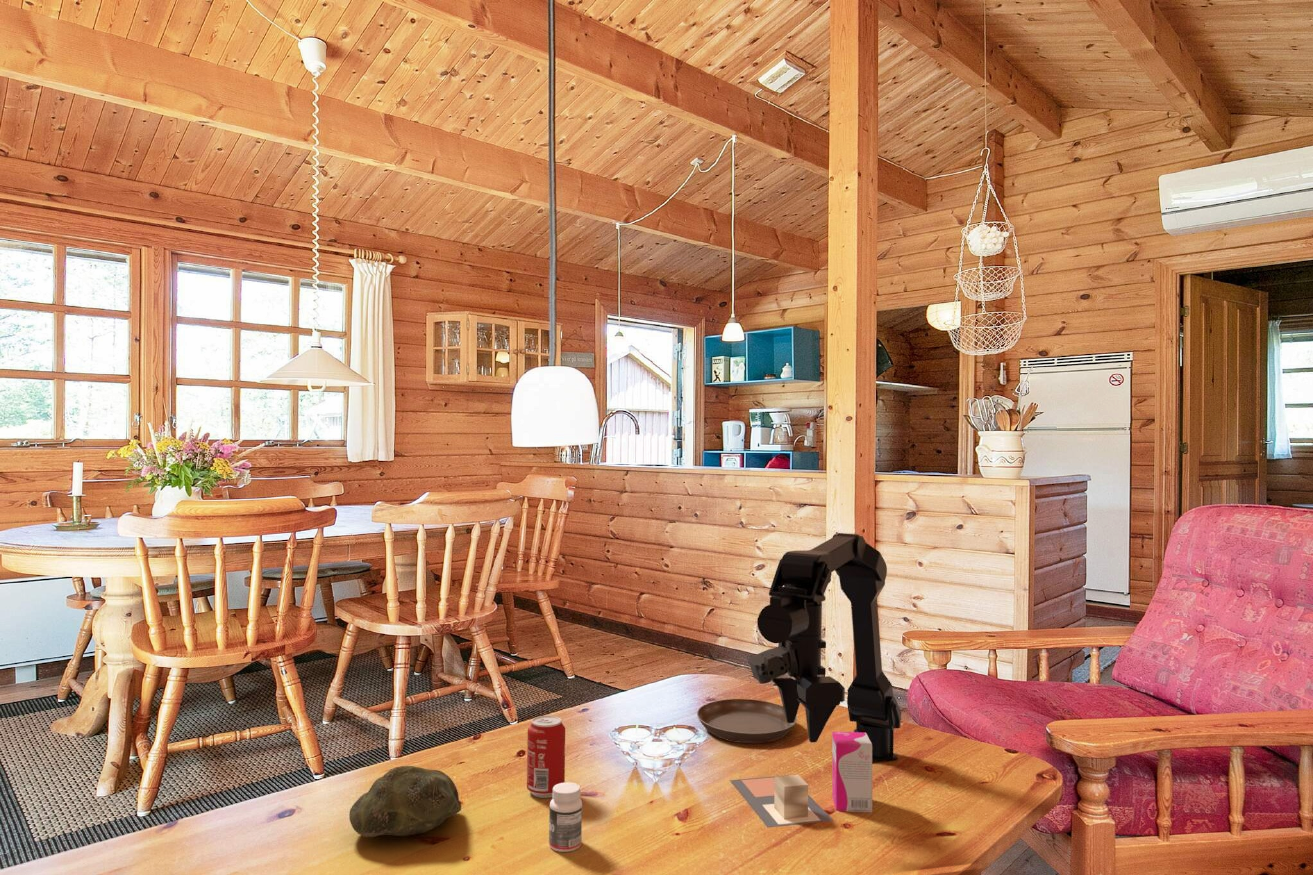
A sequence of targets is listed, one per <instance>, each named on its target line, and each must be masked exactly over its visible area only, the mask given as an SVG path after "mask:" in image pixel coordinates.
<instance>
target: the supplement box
mask: <svg viewBox="0 0 1313 875" xmlns="http://www.w3.org/2000/svg"><path fill="white" fill-rule="evenodd" d="M831 740H832V745H831V746H832V747H831V748H832V752H831V753H832V754H831V756H832V757H831V758H832V761H831V762H832V766H831V767H832V770H831V771H832V772H831V774H832V775H831V776H832V782H831V783H832V785H831V786H832V788H831V790H832V792H831V793H832V794H831V797H832V801H833V805H834V808H835V810H836V811H837V812H848V813H849V812H850V813H865V814H866V813H873V762H872V743H871V741H870V740H869V738H868V736H867V734H866V733H861V732H854V731H853V732H852V731H832V739H831Z"/></svg>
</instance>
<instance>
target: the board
mask: <svg viewBox="0 0 1313 875" xmlns="http://www.w3.org/2000/svg"><path fill="white" fill-rule="evenodd" d="M789 775H790V774H787V775H786V774H784V775H783V776H789ZM777 776H778V775H775V776H762V777H751V778H740V779H730V780H729V782H730V783H731V785H733V787H734V788H735V789H736V790H737V791H738V793H739V795H741V796H742V798H743V799H744V800H745V801H746V803H747V804H748V805H749V807H750V808H751V809H752V810H753V811H754V813H755V814H756V815H757V817H758V818H759V819H760V821H762V822H763V824H764V825H765V826H766V827H767V828H776V827H777V828H778V827H788V826H794V825H795V826H797V825H805V824H815V823H825V822H834V821H835V820H834V818H832V816H830V815H829V814H828V813H827V812H826V810H824V809H823V807H822V806H820V805H819V804H818V803H817V802H816V801H815V800H814V799H813V798H812V796H810V795H809V794H808V817H801V818H791V819H783V817H782V816H781V815H780V814H779V813H778V812H777V811H776V809H775V808H774V795H775V777H777Z"/></svg>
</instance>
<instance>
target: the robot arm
mask: <svg viewBox="0 0 1313 875" xmlns="http://www.w3.org/2000/svg"><path fill="white" fill-rule="evenodd" d="M887 567H888V566H887V563H886V561H885V559H884V558H883V555H882V553H881V552H880V551H878V550H877V549H876V548H875V547H874V546H872V545H871V544H868V543H867V541H866V539H865V538H864V536H862V535H860V534H857V533H847V532H846V533H843V532H838V533H835V534H833V535H832V538H829V539H828V540H826V541H824V542H822V543H821V544H819V545H817V546H815V547H813V548H812V549H809V550H791V551H786V552H785V553H783V555H782V557H781V558H780V560H779V562H778V565H777V567H776V571H775V574H774V577H773V580H772V582H771V586H770V589H769V592H768V595H769V596H770V597H769V604H768V605H766V606H764V607H763V608H762V609H761V610H760V612H759V613H758V614H759V615H758V617H757V622H756V623H757V627H758V628H757V629H758V631H759V634H760V635H761V636H762V637H763V639H764V640H766V641H768V642H769V643H772V644H778V646H776V647H773V648H768V649H765V650H764V651H762V652H759V653H756V654H755V655H752V656H750V657H748V659H747V661H748V664H749V666H750V669H751V672H752V676H753V679H755V680H757V681H758V682H759V684H761V685H762V684H763V685H764V684H769V683H771V682H772V683H773V684H774V685H775V686H776V687H777V688H778V692H779V695H780V699H781V703H782V706H783V708H784V712H785V716H786V720H787V722H788V723H794V721H795V718H796V717H797V714H798V711H799V707H800V704H801V705H802V707H804V710H805V717H806V728H807V736H808V742H810V743H817V742H818V740H819V738H820V736H821V734H822V732H823V730H824V729H825V727H826V725H827V723H828V721H829V719H830V717H831V716H832V714H833V712H834V711H835V709H836V708H837V706H840V705H841V703H843V702H845V701H846V703H847V712H848V718H849V721H850V722H852V723H853V722H854V723H855V725H856V726H855V729H854V731H853V732H861V733H866V734H867V736H868V738H869V740H870V741H871V743H872V763H873V762H883V761H884V762H885V761H895V760H898V759H899V756H898V755H896V754H895V753H894V734H895V732H894V729H900V728H901V727H902V726H901V725H902V724H901V721H902V710H901V708H900V706H899V703H898V701H897V699H896V697H895V696H894V690H893V685H892V682H891V681H890V680H889V678H888V677H887V676H886V675H885V672H883V667H882V666H883V665H882V663H883V662H882V651H881V637H880V635H881V634H880V622H879V611H878V610H879V608H878V597H879V595H880V594H881V593H882V590H883V589H884V587H885V586H886V578H887V574H888V568H887ZM834 571H835V573H836V575H837V576H838V579H839V585H840V586H839V587H840V589H841V591H842V592H843V594H844V595H845V596H846V598H847V599H848V600H849V602H850V612H851V621H852V622H851V623H852V634H853V635H852V636H853V637H852V638H853V648H854V649H853V650H854V659H855V660H854V661H855V674H856V675H855V677H854V679H853V680H852V682H851V683H850V685H849V686H848V688H847V697H846V691H845V690H846V688H845V687H844V686H843V684H841V682H839V680H836V679H835V678H833V677H831V676H829V675H828V676H825V675H826V674H827V673H826V672H827V670H826V667H824V666H823V665H822V649H826V648H827V641H825V640H824V639H822V630H823V629H822V625H823V624H822V622H823V621H822V618H823V602H824V601H826V596H825V593H826V590H827V588H828V585H829V584H830V583H831V582H832V573H833V572H834ZM845 697H846V700H845Z"/></svg>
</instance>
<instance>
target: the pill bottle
mask: <svg viewBox="0 0 1313 875" xmlns="http://www.w3.org/2000/svg"><path fill="white" fill-rule="evenodd" d="M580 797H581V786H580V785H579V784H578V783H575V782H567V781H566V782H565V783H559V784H557V785H555V786H554V787H553V794H552V797H551V800H550V801H549V819H548V820H549V821H548V822H549V824H548V827H549V828H548V829H549V831H548V832H549V833H548V845H549V847H550V849H552V850H553V851H555V852H559V853H560V852H561V853H569V852H574V851H576V850H578V849H579V848H580V847H581V845H582V842H583V841H582V839H583V837H582V831H583V830H582V829H583V828H582V827H583V826H582V825H583V824H582V822H583V801H582V799H581V798H580Z"/></svg>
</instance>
